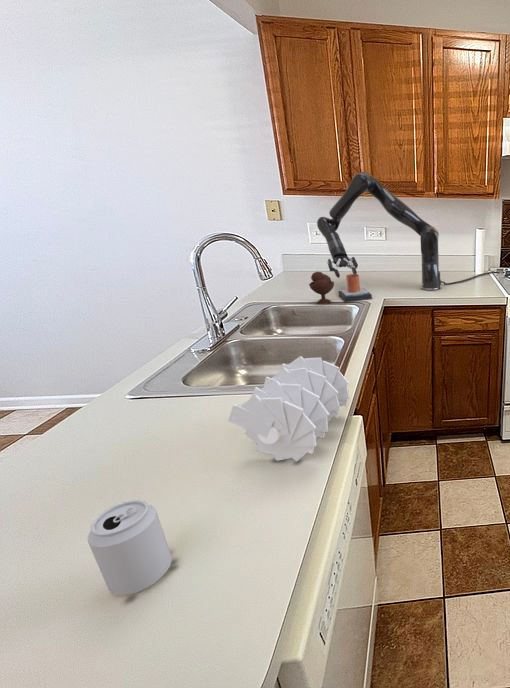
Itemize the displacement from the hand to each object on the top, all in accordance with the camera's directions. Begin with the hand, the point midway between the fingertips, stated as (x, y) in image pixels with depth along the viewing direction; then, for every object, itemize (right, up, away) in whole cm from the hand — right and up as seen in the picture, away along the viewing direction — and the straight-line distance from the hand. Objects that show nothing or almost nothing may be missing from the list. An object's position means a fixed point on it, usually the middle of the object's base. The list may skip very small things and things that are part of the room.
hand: (347, 275), depth 202 cm
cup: (+4, -8, -3) cm, 10 cm away
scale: (+5, -11, -3) cm, 12 cm away
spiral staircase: (+26, -52, -109) cm, 124 cm away
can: (+17, -65, -142) cm, 157 cm away
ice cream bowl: (-7, -14, -12) cm, 20 cm away
